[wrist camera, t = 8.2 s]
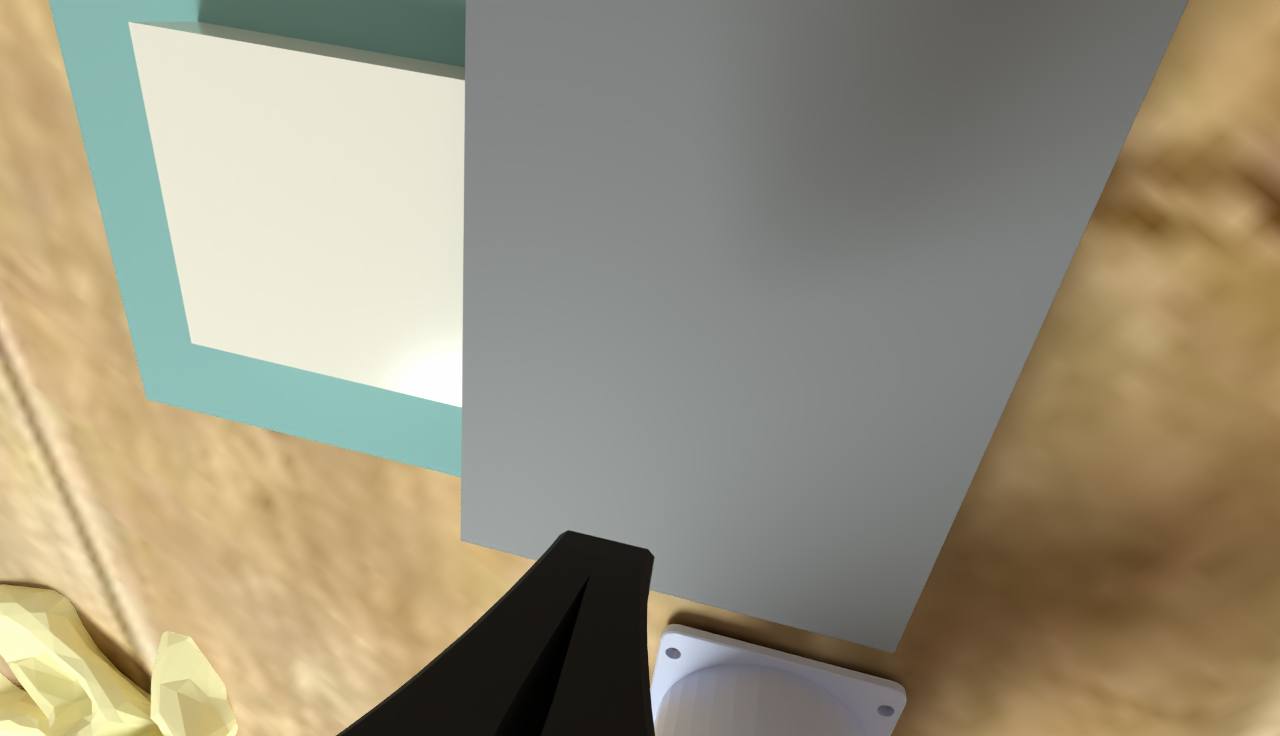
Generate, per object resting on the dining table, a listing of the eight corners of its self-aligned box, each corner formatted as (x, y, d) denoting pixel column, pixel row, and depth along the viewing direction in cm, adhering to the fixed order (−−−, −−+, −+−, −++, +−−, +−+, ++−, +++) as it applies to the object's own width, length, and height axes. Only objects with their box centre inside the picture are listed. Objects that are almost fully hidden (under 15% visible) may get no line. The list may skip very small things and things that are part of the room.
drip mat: (486, 474, 22) (481, 482, 22) (156, 393, 24) (146, 399, 23) (506, -133, 14) (498, -137, 14) (16, -196, 16) (-1, -201, 16)
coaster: (493, 373, 20) (463, 407, 18) (242, 315, 21) (191, 343, 19) (504, 73, 16) (468, 81, 14) (197, 21, 17) (127, 21, 15)
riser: (882, 572, 20) (894, 653, 18) (501, 478, 22) (460, 540, 19) (1135, -52, 13) (1219, -71, 10) (528, -130, 14) (467, -163, 12)
